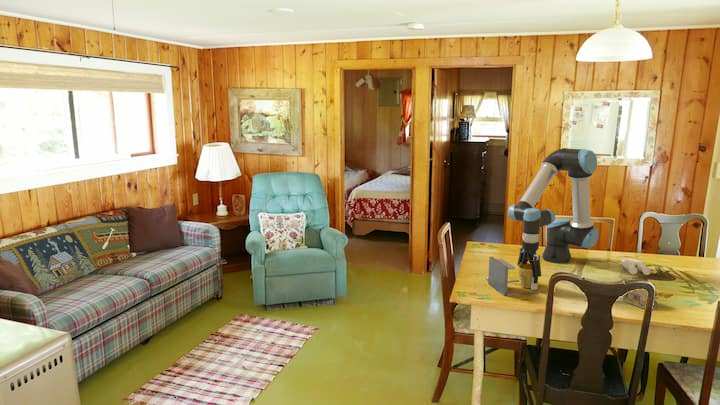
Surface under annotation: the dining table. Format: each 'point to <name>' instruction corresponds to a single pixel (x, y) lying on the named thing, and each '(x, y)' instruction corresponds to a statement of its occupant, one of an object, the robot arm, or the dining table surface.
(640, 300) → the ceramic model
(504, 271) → the bracket
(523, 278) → the plant pot
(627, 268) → the binoculars
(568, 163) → the robot arm
